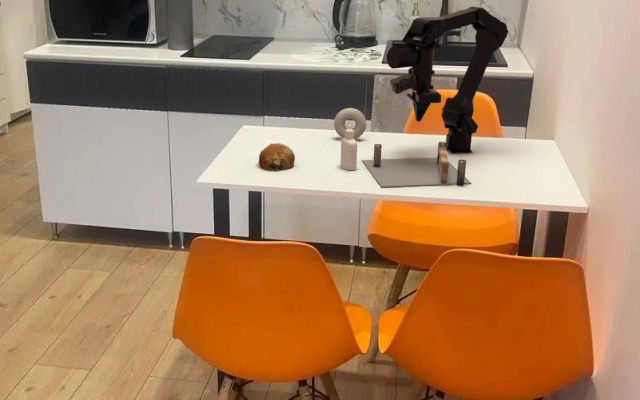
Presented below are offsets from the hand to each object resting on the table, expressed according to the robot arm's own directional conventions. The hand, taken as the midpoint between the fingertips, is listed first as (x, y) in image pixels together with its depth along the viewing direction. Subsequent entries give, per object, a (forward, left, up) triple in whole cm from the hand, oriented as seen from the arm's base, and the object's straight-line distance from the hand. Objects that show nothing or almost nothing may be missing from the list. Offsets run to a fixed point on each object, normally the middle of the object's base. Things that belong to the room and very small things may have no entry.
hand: (418, 121), depth 202 cm
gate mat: (+4, +12, -11) cm, 17 cm away
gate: (-3, +16, -10) cm, 19 cm away
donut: (+15, -21, -11) cm, 28 cm away
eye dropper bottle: (+21, +6, -11) cm, 25 cm away
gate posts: (+4, +15, -11) cm, 19 cm away
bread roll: (+40, +2, -11) cm, 42 cm away
